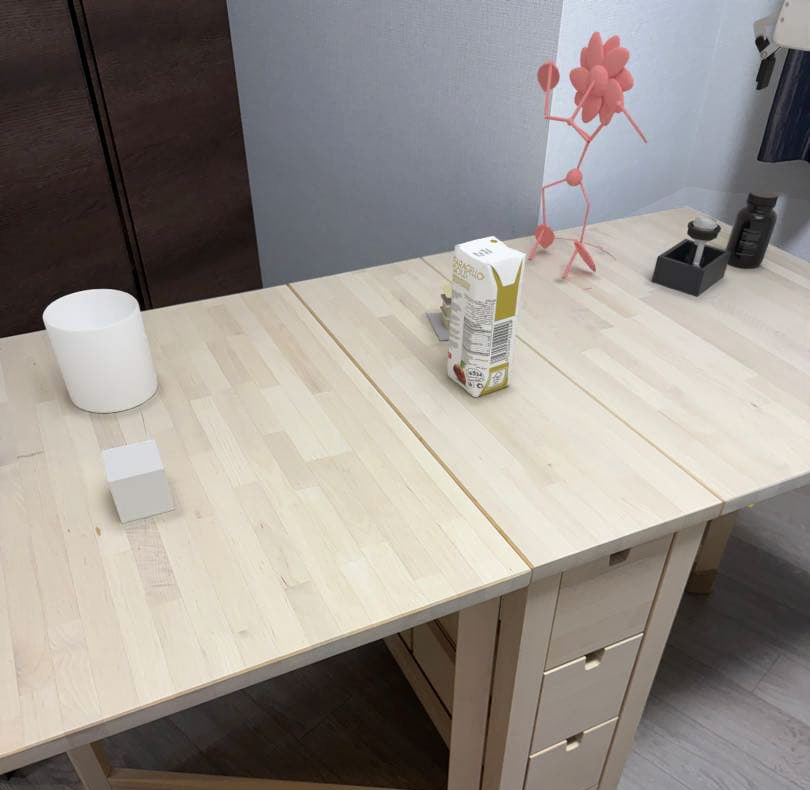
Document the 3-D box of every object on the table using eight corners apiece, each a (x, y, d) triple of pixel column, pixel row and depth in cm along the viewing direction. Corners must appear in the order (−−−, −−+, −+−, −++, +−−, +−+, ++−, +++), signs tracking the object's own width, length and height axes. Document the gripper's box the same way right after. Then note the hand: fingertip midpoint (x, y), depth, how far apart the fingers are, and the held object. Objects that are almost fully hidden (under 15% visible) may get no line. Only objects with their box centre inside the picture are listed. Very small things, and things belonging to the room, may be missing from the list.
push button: (670, 267, 134) (686, 210, 127) (701, 269, 133) (718, 212, 126) (676, 283, 129) (692, 225, 122) (707, 285, 128) (725, 227, 121)
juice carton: (474, 403, 102) (486, 268, 89) (439, 374, 107) (446, 243, 94) (517, 387, 105) (535, 255, 92) (481, 360, 110) (493, 231, 97)
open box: (723, 276, 132) (731, 251, 129) (697, 296, 126) (704, 271, 123) (678, 263, 136) (685, 238, 133) (651, 281, 130) (657, 256, 127)
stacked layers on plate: (439, 340, 114) (441, 307, 111) (426, 313, 121) (427, 281, 117) (502, 334, 116) (505, 301, 112) (485, 308, 122) (488, 276, 118)
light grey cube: (175, 509, 85) (164, 468, 81) (121, 523, 84) (107, 482, 79) (165, 479, 89) (154, 438, 85) (114, 491, 88) (100, 450, 83)
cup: (121, 359, 109) (99, 280, 101) (175, 385, 104) (157, 304, 96) (52, 394, 102) (22, 313, 94) (107, 423, 97) (81, 340, 89)
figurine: (593, 297, 126) (641, 55, 101) (497, 245, 141) (519, 23, 117) (656, 276, 132) (715, 43, 108) (558, 228, 147) (590, 15, 123)
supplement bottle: (769, 263, 136) (793, 195, 128) (745, 272, 134) (769, 203, 125) (738, 250, 141) (760, 184, 132) (714, 259, 138) (735, 191, 129)
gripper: (914, -44, 100) (858, 100, 112) (786, -55, 108) (747, 80, 120) (897, -40, 96) (842, 109, 108) (766, -51, 104) (728, 88, 116)
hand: (792, 94), depth 114 cm, fingers open, 9 cm apart
